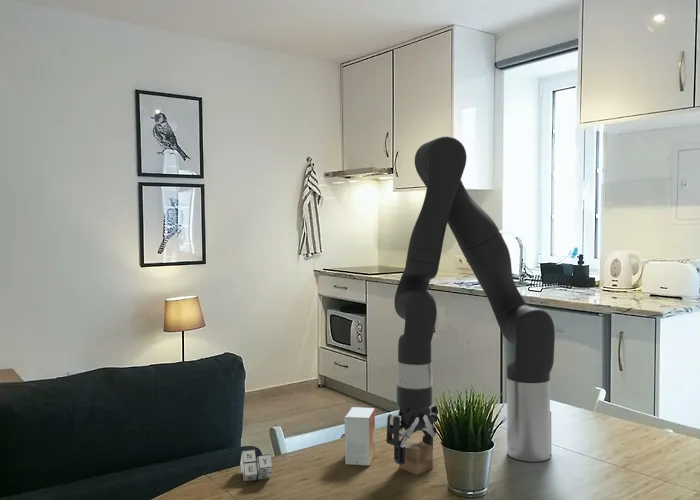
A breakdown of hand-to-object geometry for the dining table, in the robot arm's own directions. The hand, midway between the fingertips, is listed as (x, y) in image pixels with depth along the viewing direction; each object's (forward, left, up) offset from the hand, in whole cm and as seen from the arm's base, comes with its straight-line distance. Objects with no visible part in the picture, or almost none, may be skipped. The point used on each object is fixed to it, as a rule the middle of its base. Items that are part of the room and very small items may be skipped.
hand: (414, 458), depth 129 cm
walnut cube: (0, 0, -2) cm, 2 cm away
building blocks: (+27, -19, -2) cm, 33 cm away
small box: (+5, -12, -2) cm, 13 cm away
